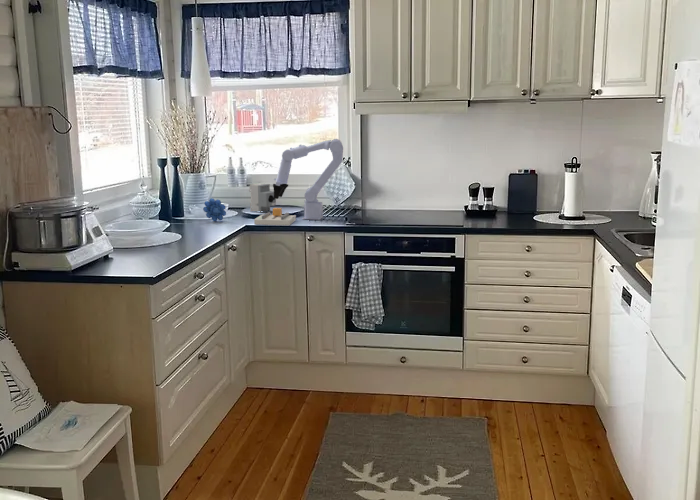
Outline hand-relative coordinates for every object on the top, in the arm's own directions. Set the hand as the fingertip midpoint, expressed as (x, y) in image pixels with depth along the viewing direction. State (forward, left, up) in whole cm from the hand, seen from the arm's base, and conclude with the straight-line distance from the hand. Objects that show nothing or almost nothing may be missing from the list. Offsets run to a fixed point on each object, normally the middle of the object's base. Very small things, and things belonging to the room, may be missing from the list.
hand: (277, 197), depth 374 cm
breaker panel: (-1, +10, -11) cm, 15 cm away
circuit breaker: (+13, -18, -11) cm, 25 cm away
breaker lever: (-1, +6, -8) cm, 10 cm away
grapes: (+30, +13, -11) cm, 34 cm away
